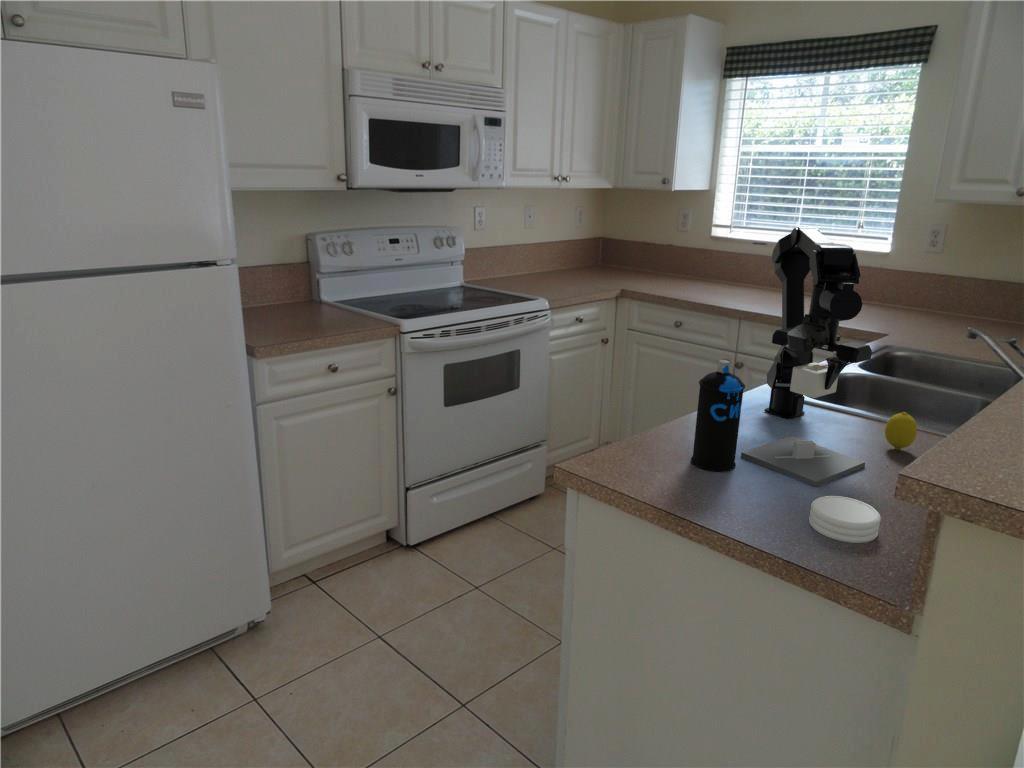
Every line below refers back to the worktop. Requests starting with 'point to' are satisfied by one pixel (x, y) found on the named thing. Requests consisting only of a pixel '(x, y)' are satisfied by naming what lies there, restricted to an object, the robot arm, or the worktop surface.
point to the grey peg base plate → (803, 460)
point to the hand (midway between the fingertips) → (813, 385)
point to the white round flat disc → (844, 519)
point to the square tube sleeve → (811, 380)
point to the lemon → (901, 430)
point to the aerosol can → (718, 420)
